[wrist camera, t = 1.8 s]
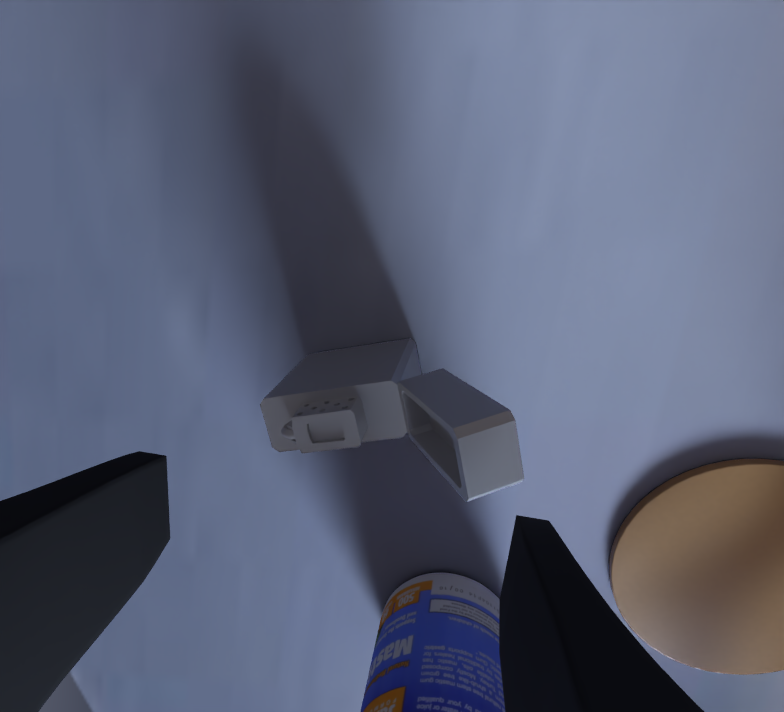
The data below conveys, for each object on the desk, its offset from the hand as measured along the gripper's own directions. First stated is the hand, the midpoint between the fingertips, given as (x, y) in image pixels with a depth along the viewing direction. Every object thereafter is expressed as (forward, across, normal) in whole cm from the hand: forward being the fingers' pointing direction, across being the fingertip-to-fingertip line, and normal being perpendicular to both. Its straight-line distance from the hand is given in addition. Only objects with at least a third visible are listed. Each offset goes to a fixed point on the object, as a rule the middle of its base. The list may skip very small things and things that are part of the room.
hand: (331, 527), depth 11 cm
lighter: (+9, 0, 0) cm, 9 cm away
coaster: (+9, -13, +6) cm, 17 cm away
